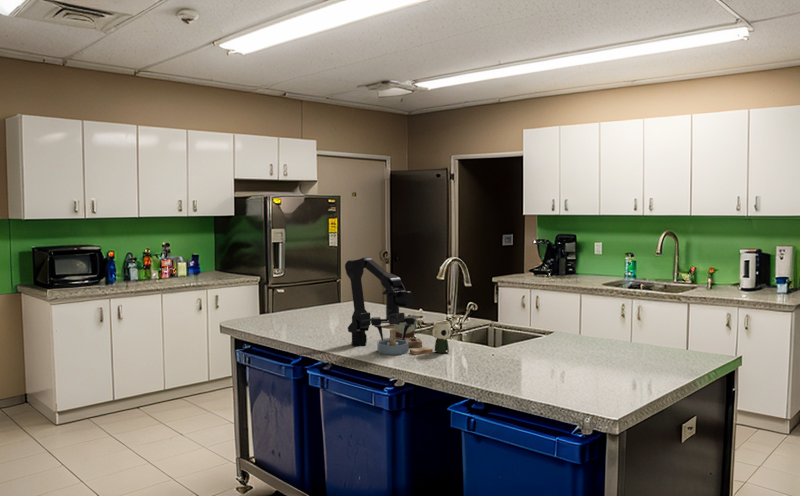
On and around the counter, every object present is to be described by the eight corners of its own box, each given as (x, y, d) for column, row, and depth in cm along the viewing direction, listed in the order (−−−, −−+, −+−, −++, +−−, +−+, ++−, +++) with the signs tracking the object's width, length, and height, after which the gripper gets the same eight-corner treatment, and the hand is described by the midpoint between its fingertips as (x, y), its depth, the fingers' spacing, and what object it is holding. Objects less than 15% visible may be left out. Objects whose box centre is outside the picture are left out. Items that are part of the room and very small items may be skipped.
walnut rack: (407, 347, 277) (407, 342, 277) (405, 343, 285) (405, 338, 284) (421, 347, 278) (421, 341, 277) (419, 343, 285) (419, 338, 285)
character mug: (438, 355, 260) (438, 325, 260) (427, 353, 266) (427, 323, 265) (456, 351, 268) (456, 322, 267) (444, 349, 273) (444, 320, 272)
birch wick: (391, 350, 266) (391, 330, 266) (389, 348, 271) (389, 328, 270) (395, 350, 266) (395, 330, 266) (394, 348, 271) (394, 328, 270)
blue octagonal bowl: (379, 355, 261) (379, 346, 261) (376, 348, 274) (376, 340, 274) (409, 354, 263) (409, 345, 263) (405, 347, 276) (405, 339, 276)
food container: (417, 336, 303) (417, 316, 303) (417, 338, 297) (416, 318, 297) (393, 335, 304) (393, 315, 304) (391, 338, 298) (391, 317, 298)
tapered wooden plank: (414, 356, 262) (414, 351, 262) (409, 353, 266) (409, 349, 266) (432, 353, 267) (432, 349, 267) (427, 351, 271) (427, 347, 270)
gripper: (373, 308, 258) (373, 344, 259) (416, 307, 261) (416, 343, 262) (370, 304, 269) (371, 339, 270) (412, 303, 272) (412, 338, 273)
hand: (392, 340), depth 268 cm, fingers open, 9 cm apart
